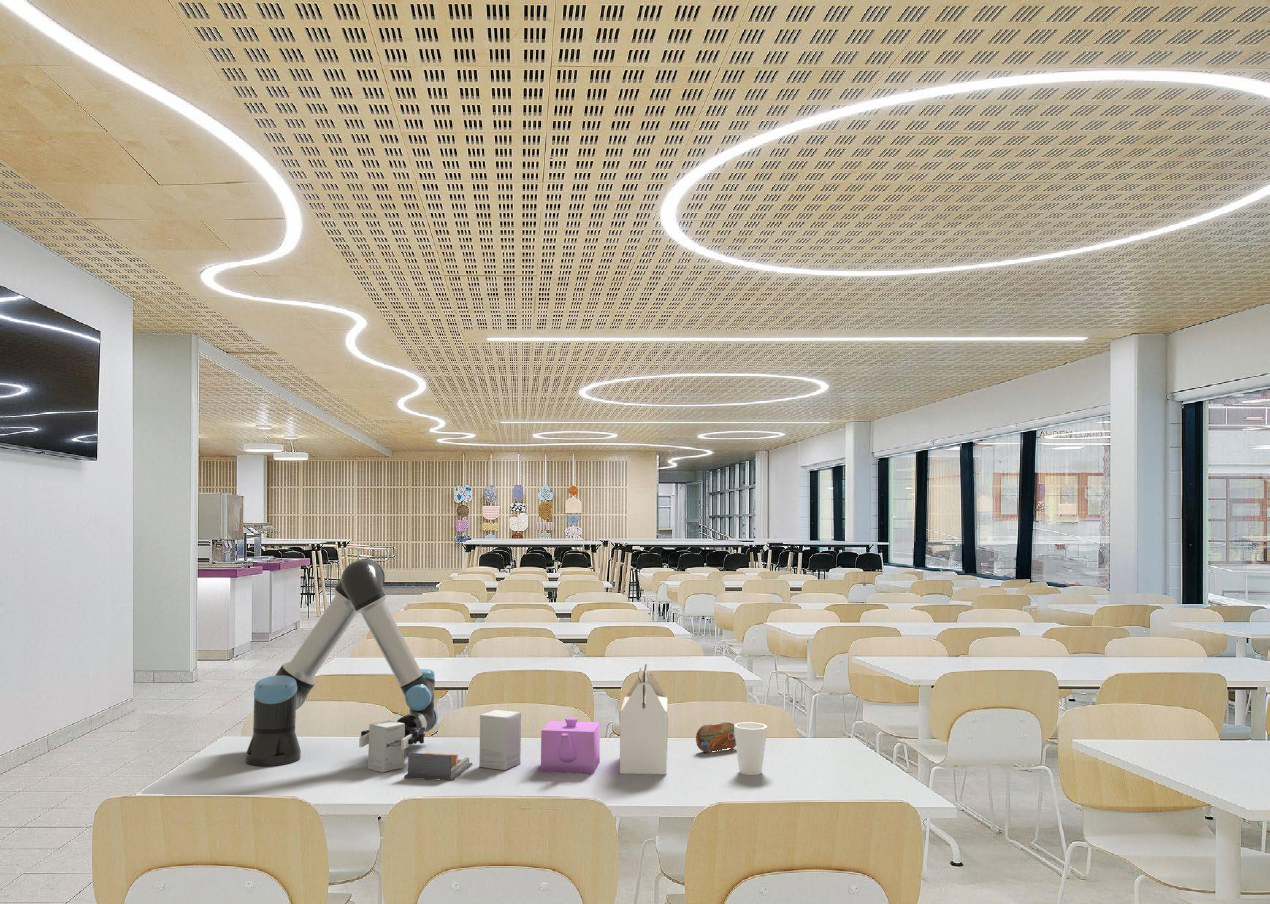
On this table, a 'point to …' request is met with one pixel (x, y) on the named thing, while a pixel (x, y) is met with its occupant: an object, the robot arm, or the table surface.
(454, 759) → the spring pusher
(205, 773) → the table surface
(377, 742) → the supplement box
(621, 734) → the gable box
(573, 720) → the teapot
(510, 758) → the supplement box
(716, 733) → the tin
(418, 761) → the pusher lane
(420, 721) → the robot arm
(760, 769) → the foam cup
